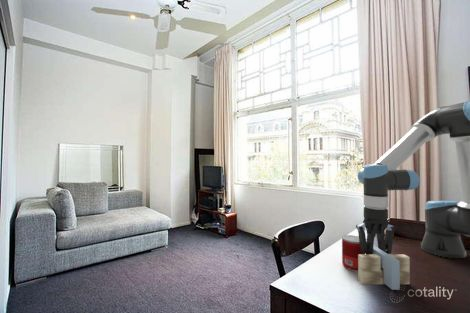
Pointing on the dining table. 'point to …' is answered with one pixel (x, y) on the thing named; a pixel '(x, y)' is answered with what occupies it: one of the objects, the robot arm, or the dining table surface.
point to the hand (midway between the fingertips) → (375, 272)
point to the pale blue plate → (389, 268)
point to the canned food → (350, 251)
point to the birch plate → (380, 269)
